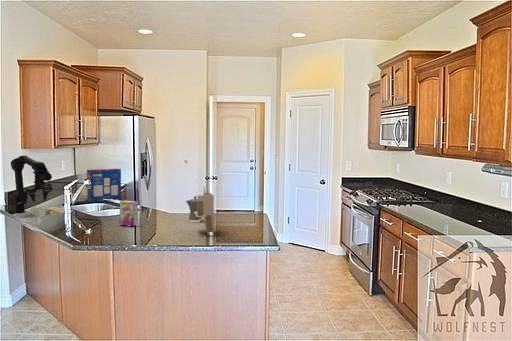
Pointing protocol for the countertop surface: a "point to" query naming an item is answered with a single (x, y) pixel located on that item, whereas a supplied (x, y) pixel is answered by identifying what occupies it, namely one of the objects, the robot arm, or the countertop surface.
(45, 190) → the robot arm
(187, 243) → the countertop surface
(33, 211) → the white cube
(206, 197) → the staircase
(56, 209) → the birch block
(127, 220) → the candy bar box
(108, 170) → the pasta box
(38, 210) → the sage cube
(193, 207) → the coffeepot
